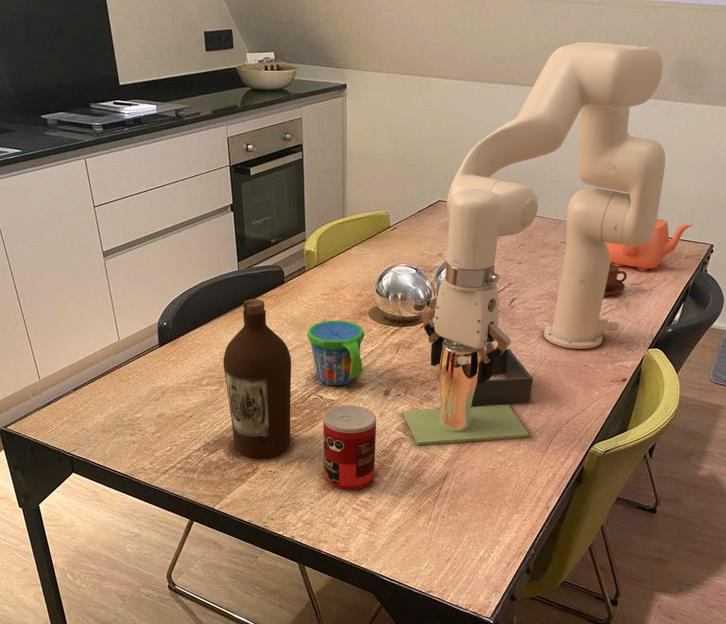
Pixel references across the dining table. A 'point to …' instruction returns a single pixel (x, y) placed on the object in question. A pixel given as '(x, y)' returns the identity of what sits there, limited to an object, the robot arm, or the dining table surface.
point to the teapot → (647, 248)
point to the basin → (505, 383)
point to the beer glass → (457, 384)
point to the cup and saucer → (614, 281)
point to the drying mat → (484, 427)
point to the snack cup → (336, 351)
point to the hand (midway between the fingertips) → (460, 371)
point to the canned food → (349, 446)
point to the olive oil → (258, 386)
